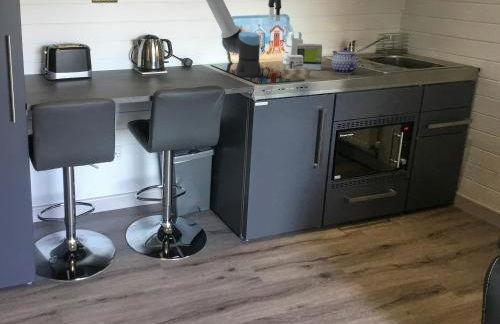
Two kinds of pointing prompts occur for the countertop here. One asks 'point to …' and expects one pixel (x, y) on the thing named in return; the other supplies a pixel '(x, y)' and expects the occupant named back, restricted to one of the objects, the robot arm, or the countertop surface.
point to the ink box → (294, 62)
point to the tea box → (310, 55)
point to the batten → (296, 73)
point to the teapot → (344, 61)
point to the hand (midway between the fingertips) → (274, 19)
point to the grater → (291, 46)
